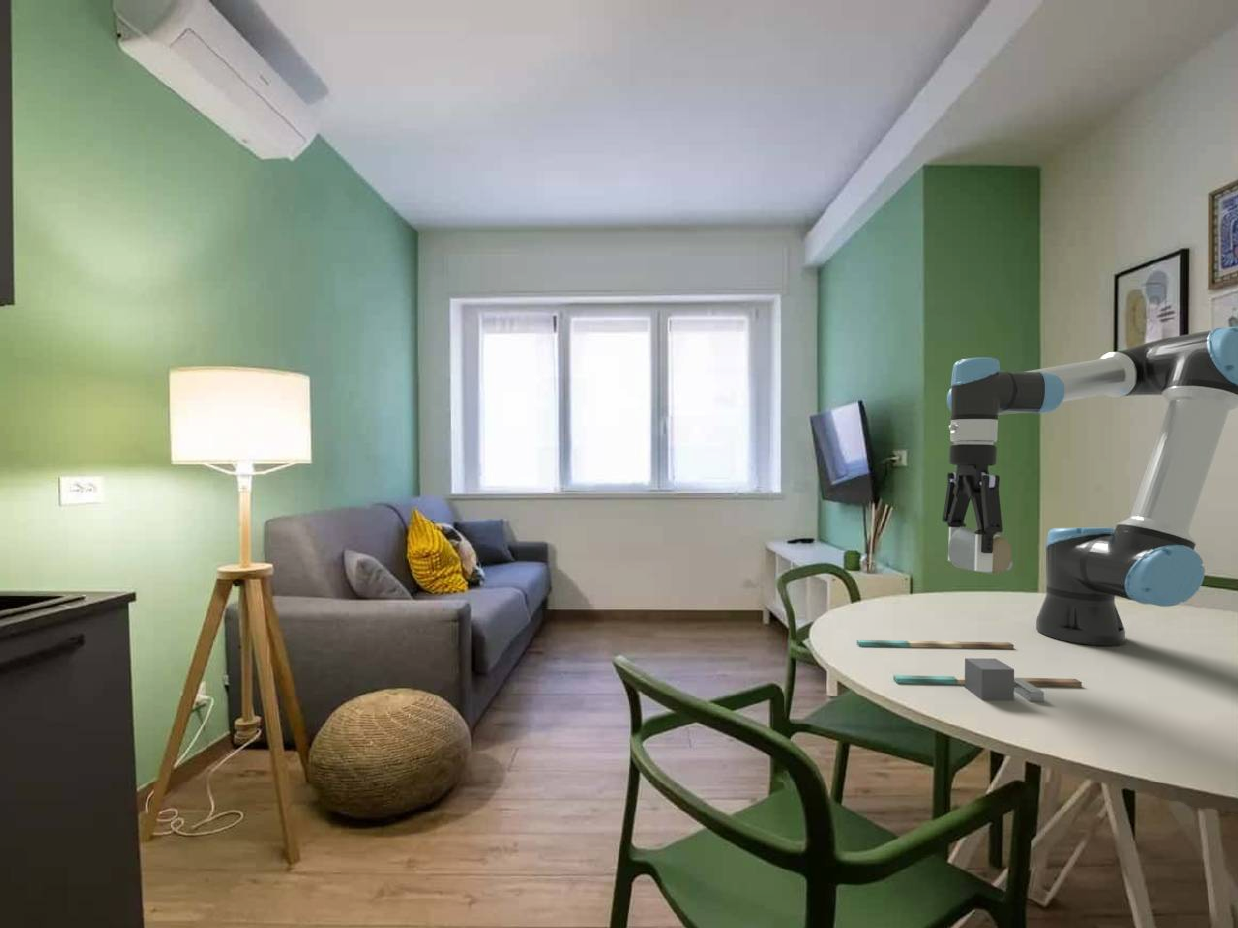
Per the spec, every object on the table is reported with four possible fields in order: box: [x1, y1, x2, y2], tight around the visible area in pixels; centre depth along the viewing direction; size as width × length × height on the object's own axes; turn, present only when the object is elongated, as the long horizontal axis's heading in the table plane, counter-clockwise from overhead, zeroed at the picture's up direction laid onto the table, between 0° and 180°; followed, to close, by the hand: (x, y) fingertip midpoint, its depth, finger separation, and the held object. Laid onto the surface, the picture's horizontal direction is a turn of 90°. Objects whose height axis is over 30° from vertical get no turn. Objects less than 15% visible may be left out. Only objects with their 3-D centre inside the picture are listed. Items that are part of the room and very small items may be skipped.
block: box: [964, 657, 1015, 701], centre depth 99 cm, size 5×5×5 cm
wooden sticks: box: [856, 639, 1083, 688], centre depth 113 cm, size 30×21×1 cm
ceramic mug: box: [947, 527, 1014, 575], centre depth 113 cm, size 11×8×8 cm
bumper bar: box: [1014, 677, 1045, 703], centre depth 99 cm, size 2×6×2 cm, turn 176°
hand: (969, 565), depth 112 cm, fingers closed on ceramic mug, 9 cm apart
